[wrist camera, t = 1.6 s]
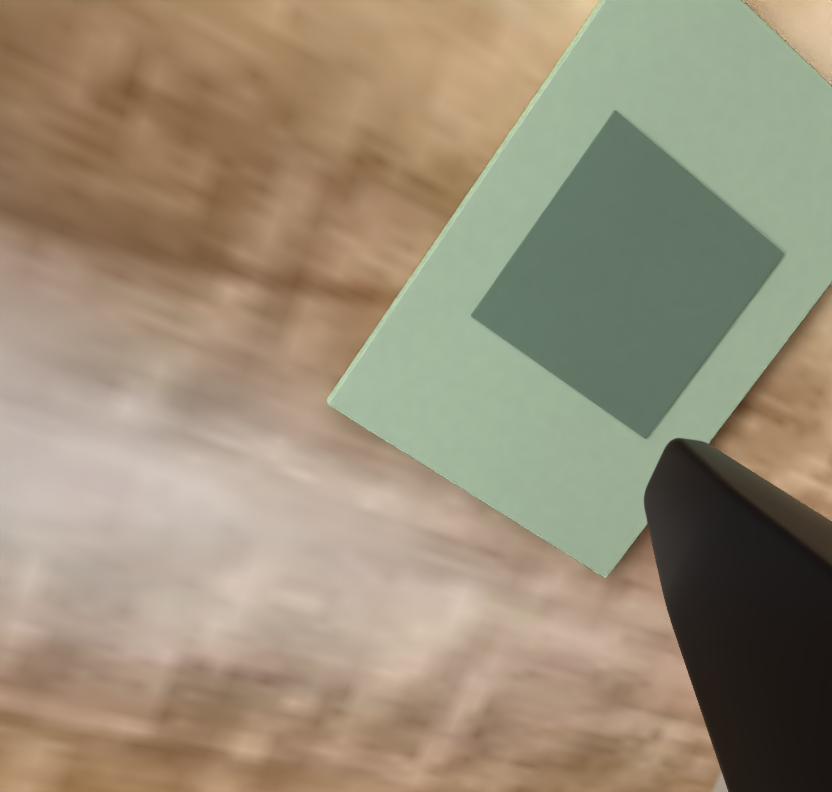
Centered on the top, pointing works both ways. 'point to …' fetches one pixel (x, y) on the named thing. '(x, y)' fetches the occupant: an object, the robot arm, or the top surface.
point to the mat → (612, 272)
